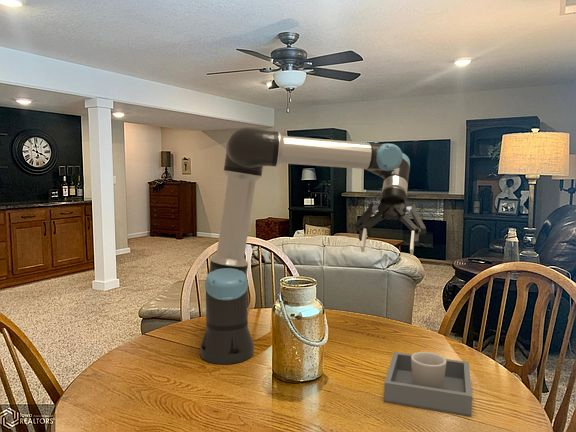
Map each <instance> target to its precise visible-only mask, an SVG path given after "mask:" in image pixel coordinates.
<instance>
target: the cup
mask: <svg viewBox="0 0 576 432" xmlns="http://www.w3.org/2000/svg"><path fill="white" fill-rule="evenodd" d="M412 354H413V355H412V356H411V365H412V379H413V385H418V386H425V387H431V388H438V389H442V388H443V383H444V376H445V370H446V363H447V362H446V359H447V358H445V357H444V356H443V355H440V354H439V353H435V352H431V351H418V352H415V353H412Z"/></svg>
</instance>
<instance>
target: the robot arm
mask: <svg viewBox="0 0 576 432" xmlns="http://www.w3.org/2000/svg"><path fill="white" fill-rule="evenodd" d="M225 147H226V148H225V150H226V152H225V159H224V165H223V173H224V174H225V175H226V176H227V181H226V187H225V188H226V189H225V194H224V201H223V207H222V215H221V222H220V228H219V234H218V235H219V236H218V241H217V248H216V249H217V250H216V254H215V255H213V256H212V257H211V258H210V261H209V263H210V264H209V269H208V273H207V275H206V278H205V283H204V289H205V314H206V315H205V316H206V317H205V322H206V325H205V327H206V329H205V331H204V334H203V337H202V342H201V345H200V357H201V359H202V360H204V361H206V362H208V363H212V364H218V365H231V364H238V363H241V362H244V361H247V360H249V359H250V358H253V356H254V354H255V344H254V341H253V338H252V334H251V332H250V330H249V325H248V324H249V323H248V322H249V321H248V313H249V312H248V310H249V309H248V308H249V307H248V287H249V281H248V277H247V273H248V267H249V262H248V261H247V260H246V259H245V254H246V248H247V239H248V234H249V227H250V221H251V214H252V207H253V202H254V201H253V200H254V197H255V196H254V194H255V188H256V182H257V181H258V180H260V179H261V178H262V177H263V176H262V175H263V170H264V169H263V167H278V166H279V165H280V164H287V165H300V166H301V165H303V166H316V167H329V168H330V167H331V168H345V169H346V168H347V169H361V170H365V171H367V172H371V173H372V174H374V175H377V177H381V178H382V179H383V183H382V189H381V190H382V191H381V197H380V201H379V202H380V203H379V205H374V203H372V202H370V203H368V206H367V209H366V210H365V211H364V212H363V213H362V214H361V216H360V217H359V219H357V221H355V223H354V228H355V232H359V233H358V240H359V242H360V247H359V248H360V251H361V253H365V249H366V243H367V238H368V237H367V236H368V231H369V230H370V229H371V228H373V227H374V226H375V225H377V224H378V223H379V222H382V221H383V220H384V219H385V220H386V221H387V220H388V221H389V220H393V221H397V220H399V221H400V222H401V223H403V224H404V225H405V226H406V227H407V228H408V230H409V231H410V232H411V236H410V244H409V245H410V246H409V252H410V253H409V255H410V256H414V251H415V250H414V249H415V245H418V244H419V242H420V241H419V237H420V236H421V235H423V236H424V235H426V234H427V228H426V226H425V224H424V222H423V220H422V218H421V217H420V215H419V213H418V210H417V208H416V207H417V206H416V204H411V206H407V203H406V202H407V195H408V187H409V185H408V184H409V178H410V172H411V161H410V158H409V156H408V155H406V154H405V153H403V151H402V150H401V148H400V147H399V146H398V145H396V144H394V143H388V142H387V143H373V142H371V143H369V142H365V141H363V140H360V141H349V140H336V139H324V138H312V137H302V136H301V137H300V136H289V135H282V134H281V132H280V131H276V130H275V131H274V130H267V129H266V130H265V129H260V128H256V127H250V126H247V127H241V128H238V129H236V130H235V131H233V133H231V135H230V136H229V139H228V140H227V143H226V146H225ZM376 211H377V212H376ZM407 212H408V213H409V214H410V215H411V216H412V218H413V221H414V222H413V221H412V220H411V219H410V218H409V217H408V216H407V215H406V213H407ZM374 213H375V214H374ZM373 214H374V215H373ZM372 215H373V216H372Z"/></svg>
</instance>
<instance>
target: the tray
mask: <svg viewBox="0 0 576 432" xmlns="http://www.w3.org/2000/svg"><path fill="white" fill-rule="evenodd" d="M413 354H414V353H412V354H411V353H405V352H404V353H403V352H399V351H398V352H397V351H393V354H392V357H391V360H390V363H389V367H388V371H387V373H386V377H385V379H384V382H383V383H384V384H383V386H384V387H383V390H384V391H383V402H385V403H389V404H396V405H400V406H401V405H402V406H407V407H412V408H413V407H414V408H420V409H424V410H431V411H437V412H443V413H447V414H449V413H450V414H456V415H460V416H466V417H472V407H473V393H472V383H471V382H472V381H471V369H470V362H469V361H463V360H458V359H450V358H449V359H448V358H445V359H446V362H447V363H446V370H445V376H444V383H443V388H442V389H438V388H431V387H425V386H418V385H413V379H412V365H411V356H412V355H413Z"/></svg>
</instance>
